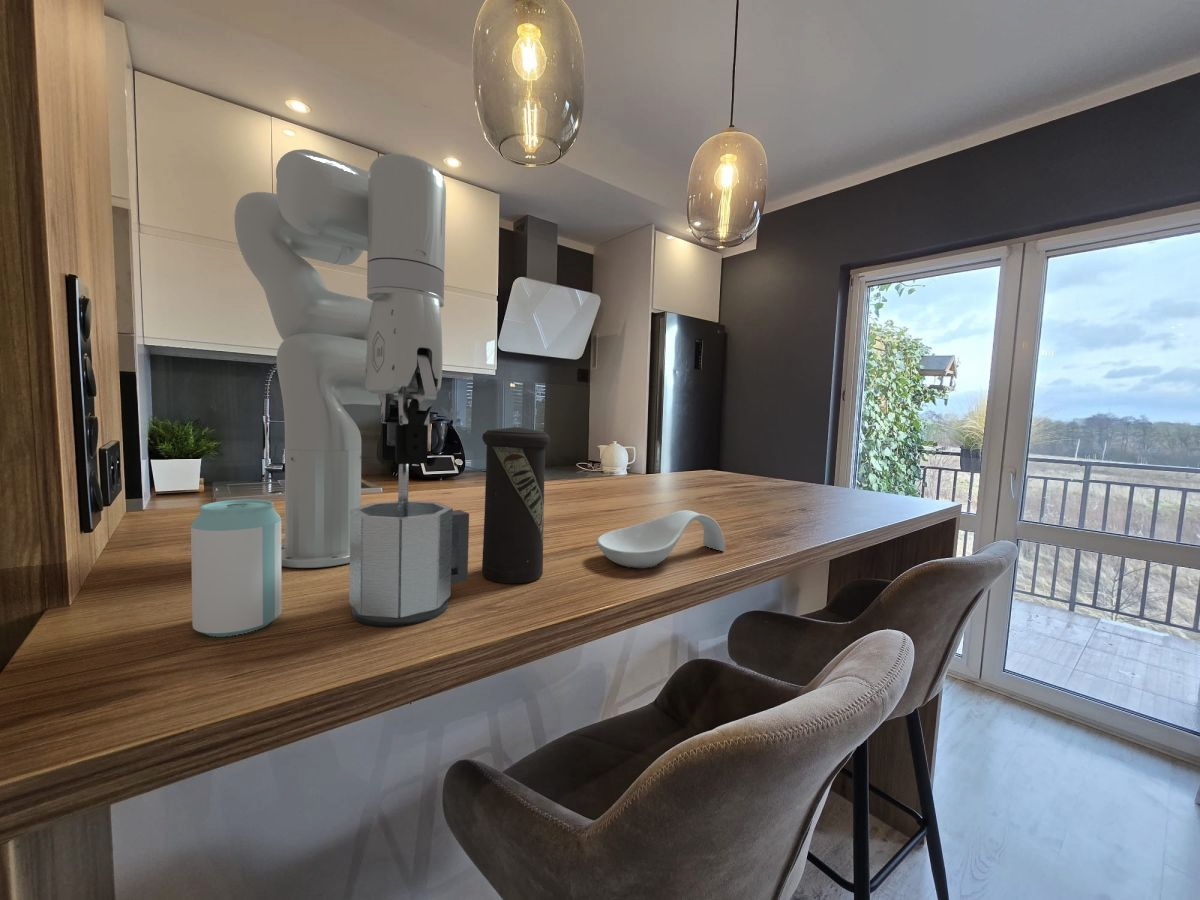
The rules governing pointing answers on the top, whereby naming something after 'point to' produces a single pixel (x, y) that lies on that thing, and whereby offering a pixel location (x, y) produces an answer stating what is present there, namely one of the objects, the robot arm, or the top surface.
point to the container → (514, 505)
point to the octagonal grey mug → (405, 561)
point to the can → (235, 567)
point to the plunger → (400, 474)
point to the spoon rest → (656, 539)
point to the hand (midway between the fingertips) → (403, 459)
